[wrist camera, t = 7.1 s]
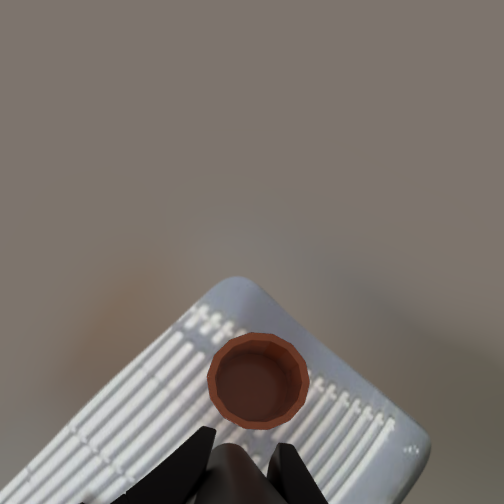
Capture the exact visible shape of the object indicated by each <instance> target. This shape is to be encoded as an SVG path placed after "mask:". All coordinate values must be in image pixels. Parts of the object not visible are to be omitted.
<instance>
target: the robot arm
mask: <svg viewBox="0 0 504 504" xmlns="http://www.w3.org/2000/svg"><path fill="white" fill-rule="evenodd" d="M215 435H216V429H213V428H210V427H206V426H202V427H201V428H199V429H198V430H197V431H196V432H195V433H194V434H193V435H192V436H191V437H190V438H189V439H188V440H186V441H185V442H184V443H183V444H182V445H181V446H180V447H179V448H178V449H176V450H175V451H174V452H173V453H172V454H171V455H170V456H169V457H167V458H166V459H165V460H164V461H163V462H162V463H160V464H159V465H158V466H157V467H156V468H155V469H153V470H152V471H151V472H150V473H149V474H147V475H146V476H145V477H144V478H143V479H141V480H140V481H139V482H138V483H136V484H135V485H134V486H133V487H131V488H130V489H129V490H128V491H126V494H122V495H121V496H120V497H118V498H117V499H116V500H114V501H113V502H112V503H110V504H194V501H195V498H196V495H197V492H198V489H199V486H200V484H201V482H202V480H203V478H204V476H205V472H206V469H207V465H208V462H209V458H210V454H211V451H212V447H213V443H214V439H215ZM267 479H268V481H269V482H270V483H271V484H272V485H273V487H274V488H275V489H276V490H277V491H278V493H279V494H280V495H281V496H282V497H283V498H284V500H285V501H286V502H287V503H288V504H328V502H327V501H326V499H325V497H324V496H323V494H322V493H321V491H320V489H319V488H318V486H317V484H316V483H315V481H314V479H313V478H312V476H311V474H310V473H309V471H308V469H307V468H306V466H305V464H304V463H303V461H302V459H301V458H300V456H299V454H298V452H297V451H296V449H295V447H294V446H293V445H292V444H287V443H278V445H277V446H276V448H275V450H274V452H273V454H272V456H271V459H270V462H269V466H268V473H267Z"/></svg>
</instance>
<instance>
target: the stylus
mask: <svg viewBox="0 0 504 504" xmlns="http://www.w3.org/2000/svg"><path fill="white" fill-rule="evenodd" d="M194 504H288V503H287V502H286V501H285V500H284V498H283V497H282V496H281V495H280V494H279V493H278V491H277V490H276V489H275V488H274V487H273V485H272V484H271V483H270V482H269V481H268V479H267V478H266V477H265V476H264V474H263V473H262V472H261V471H260V469H259V468H258V467H257V466H256V464H255V463H254V462H253V460H252V459H251V458H250V456H249V455H248V454H247V452H246V451H245V450H244V449H243V448H242V447H240V446H239V445H236V444H233V443H224V444H221V445H218V446H217V447H215V448H214V449H213V450H212V452H211V454H210V458H209V462H208V465H207V469H206V472H205V476H204V478H203V480H202V482H201V484H200V486H199V489H198V492H197V495H196V498H195V501H194Z"/></svg>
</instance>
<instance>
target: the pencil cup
mask: <svg viewBox="0 0 504 504" xmlns="http://www.w3.org/2000/svg"><path fill="white" fill-rule="evenodd" d="M207 382H208V389H209V396H210V399H211V401H212V402H213V404H214V405H215V407H216V408H217V409H218V411H219V412H220V414H221V415H222V416H223V417H224V418H225V419H227V420H229V421H231V422H233V423H234V424H236V425H238V426H240V427H242V428H245V429H259V430H268V429H271V428H274V427H276V426H279V425H281V424H283V423H286V422H288V421H289V420H291V419H292V418H293V416H294V415H295V414H296V413H297V412H298V411H299V410H300V408H301V407H302V406H303V405H304V403H305V400H306V396H307V392H308V388H309V384H310V383H309V382H310V380H309V376H308V371H307V366H306V362H305V360H304V359H303V358H302V356H301V355H300V354H299V352H298V351H297V350H296V349H295V347H294V346H293V345H292V344H291V343H289V342H287V341H285V340H283V339H281V338H279V337H277V336H276V335H274V334H266V333H253V332H251V333H248V334H245V335H242V336H239V337H236V338H233V339H231V340H229V341H228V342H227V343H226V344H225V345H224V346H223V347H222V348H221V349H220V350H219V351H218V352H217V353H216V354H215V355H214V357H213V360H212V362H211V365H210V368H209V371H208V374H207Z"/></svg>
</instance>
